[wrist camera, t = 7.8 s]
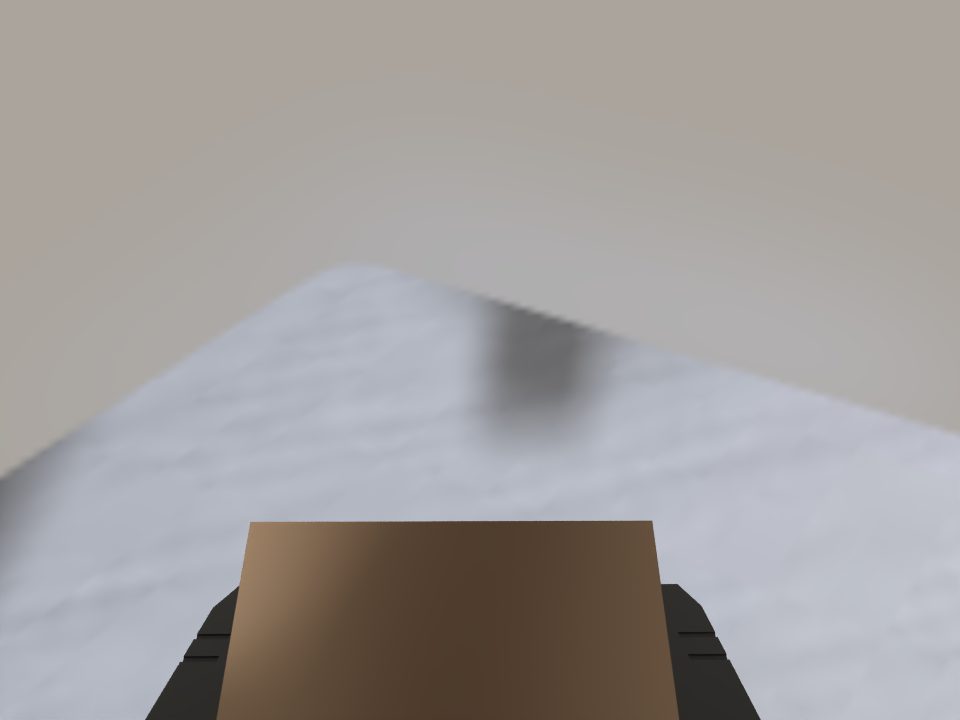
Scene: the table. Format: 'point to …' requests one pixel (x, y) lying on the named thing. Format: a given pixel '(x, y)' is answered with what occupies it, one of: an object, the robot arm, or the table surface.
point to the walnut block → (449, 623)
